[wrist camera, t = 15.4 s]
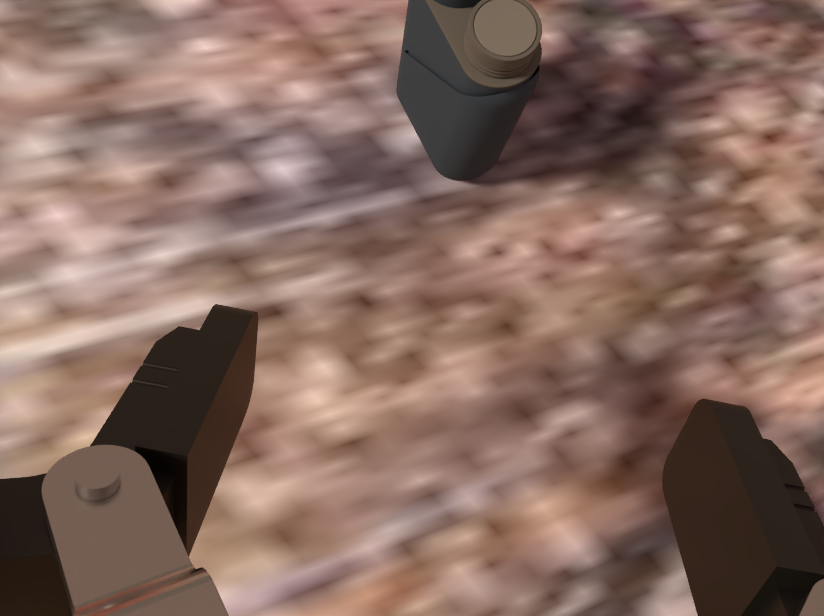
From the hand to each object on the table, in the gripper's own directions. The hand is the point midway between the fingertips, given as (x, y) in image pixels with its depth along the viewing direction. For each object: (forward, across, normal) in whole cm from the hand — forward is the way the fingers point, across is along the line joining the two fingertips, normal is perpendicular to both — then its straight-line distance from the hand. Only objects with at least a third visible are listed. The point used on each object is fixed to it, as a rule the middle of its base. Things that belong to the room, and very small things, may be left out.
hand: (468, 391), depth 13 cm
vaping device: (+17, +1, +1) cm, 17 cm away
